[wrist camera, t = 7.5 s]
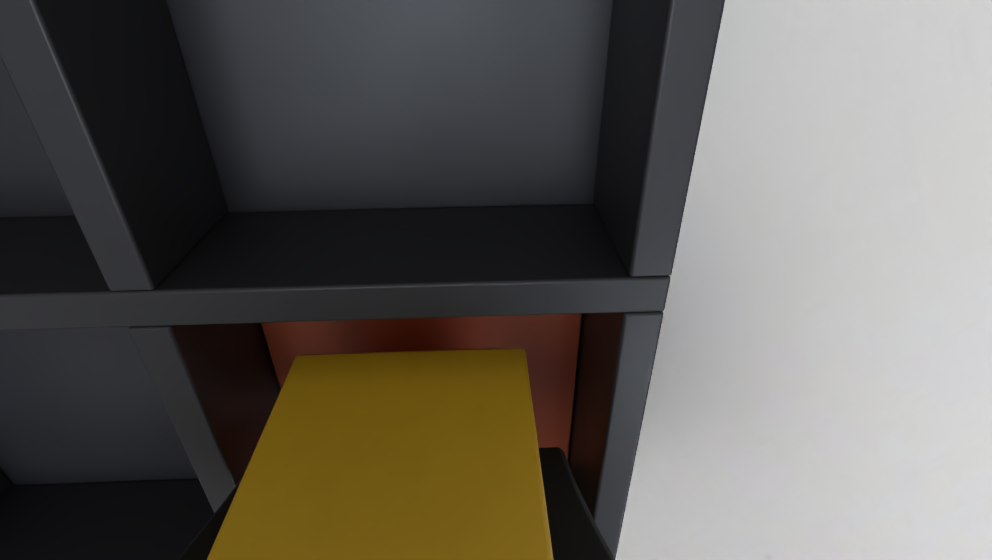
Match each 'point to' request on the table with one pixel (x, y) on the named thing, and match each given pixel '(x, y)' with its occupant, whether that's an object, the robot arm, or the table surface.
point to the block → (395, 462)
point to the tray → (321, 230)
